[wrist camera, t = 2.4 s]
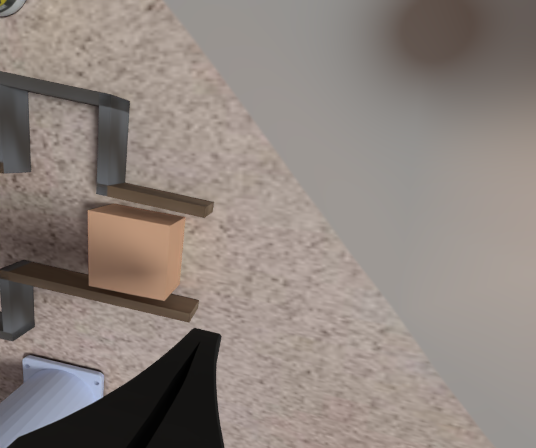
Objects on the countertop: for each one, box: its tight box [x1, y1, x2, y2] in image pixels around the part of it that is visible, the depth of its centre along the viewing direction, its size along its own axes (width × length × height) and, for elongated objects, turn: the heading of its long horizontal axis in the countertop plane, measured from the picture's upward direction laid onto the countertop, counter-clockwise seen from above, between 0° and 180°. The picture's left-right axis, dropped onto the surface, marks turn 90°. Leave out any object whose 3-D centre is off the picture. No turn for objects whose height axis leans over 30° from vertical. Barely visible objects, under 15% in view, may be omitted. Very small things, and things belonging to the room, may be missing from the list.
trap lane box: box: [0, 71, 214, 341], centre depth 21 cm, size 22×30×2 cm
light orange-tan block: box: [88, 204, 185, 301], centre depth 20 cm, size 6×6×3 cm
